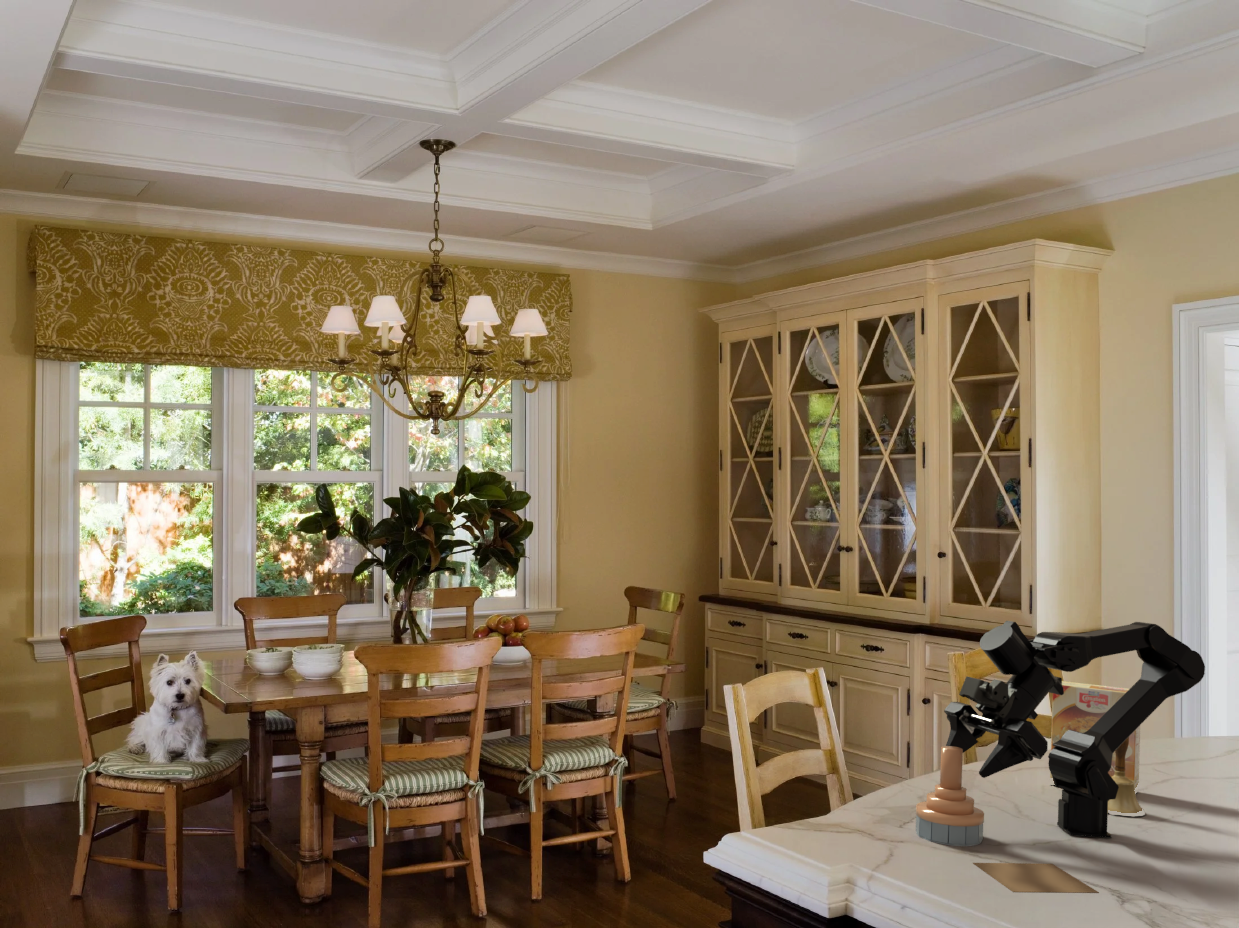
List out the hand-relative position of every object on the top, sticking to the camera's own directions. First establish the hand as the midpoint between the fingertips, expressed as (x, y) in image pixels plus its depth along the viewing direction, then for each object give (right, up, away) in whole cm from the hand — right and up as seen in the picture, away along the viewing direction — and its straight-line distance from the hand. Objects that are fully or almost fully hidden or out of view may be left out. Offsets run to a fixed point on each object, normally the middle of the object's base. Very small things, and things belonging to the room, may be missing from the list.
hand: (961, 768), depth 168 cm
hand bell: (+35, -14, +23) cm, 44 cm away
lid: (-2, -7, -1) cm, 8 cm away
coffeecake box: (+38, -15, +39) cm, 57 cm away
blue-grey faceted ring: (-2, -11, -1) cm, 11 cm away
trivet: (+4, -10, -20) cm, 22 cm away
